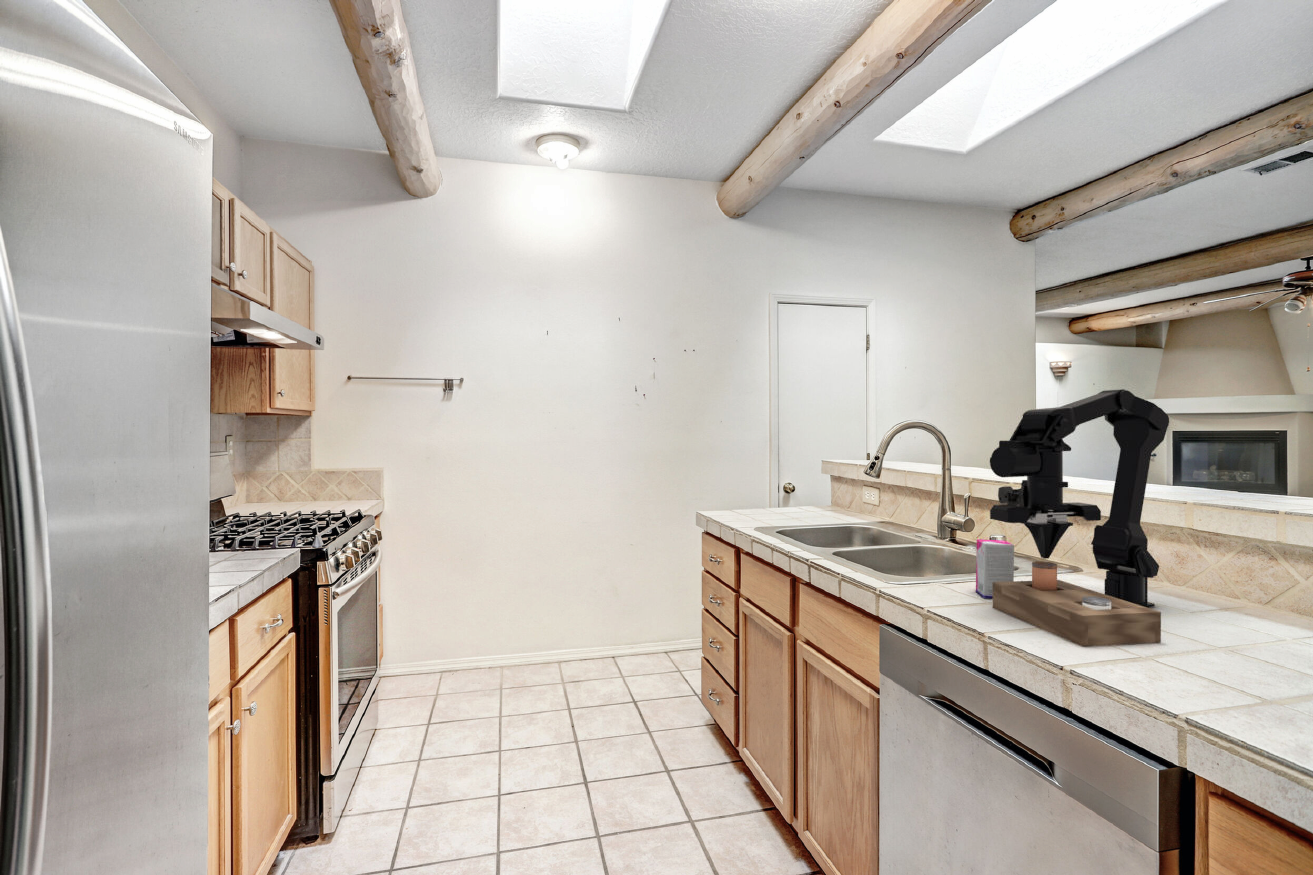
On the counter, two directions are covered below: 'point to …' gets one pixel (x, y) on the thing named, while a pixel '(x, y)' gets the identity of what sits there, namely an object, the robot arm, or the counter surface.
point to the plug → (1096, 603)
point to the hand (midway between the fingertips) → (1044, 558)
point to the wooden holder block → (1078, 614)
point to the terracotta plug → (1044, 576)
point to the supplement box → (993, 565)
